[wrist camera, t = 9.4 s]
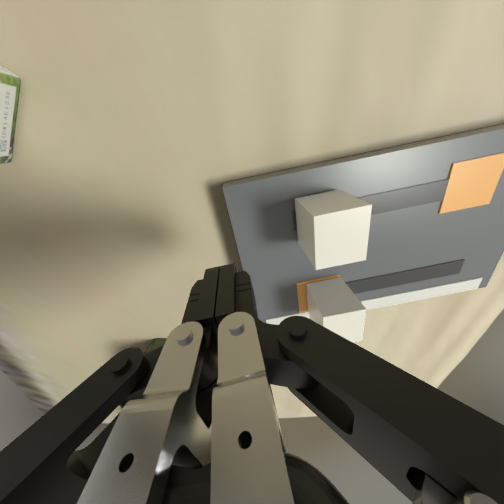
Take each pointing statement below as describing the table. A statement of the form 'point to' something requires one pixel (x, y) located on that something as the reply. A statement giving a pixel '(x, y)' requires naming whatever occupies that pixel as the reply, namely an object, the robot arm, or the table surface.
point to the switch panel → (380, 223)
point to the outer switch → (336, 308)
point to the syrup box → (8, 112)
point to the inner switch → (333, 228)
